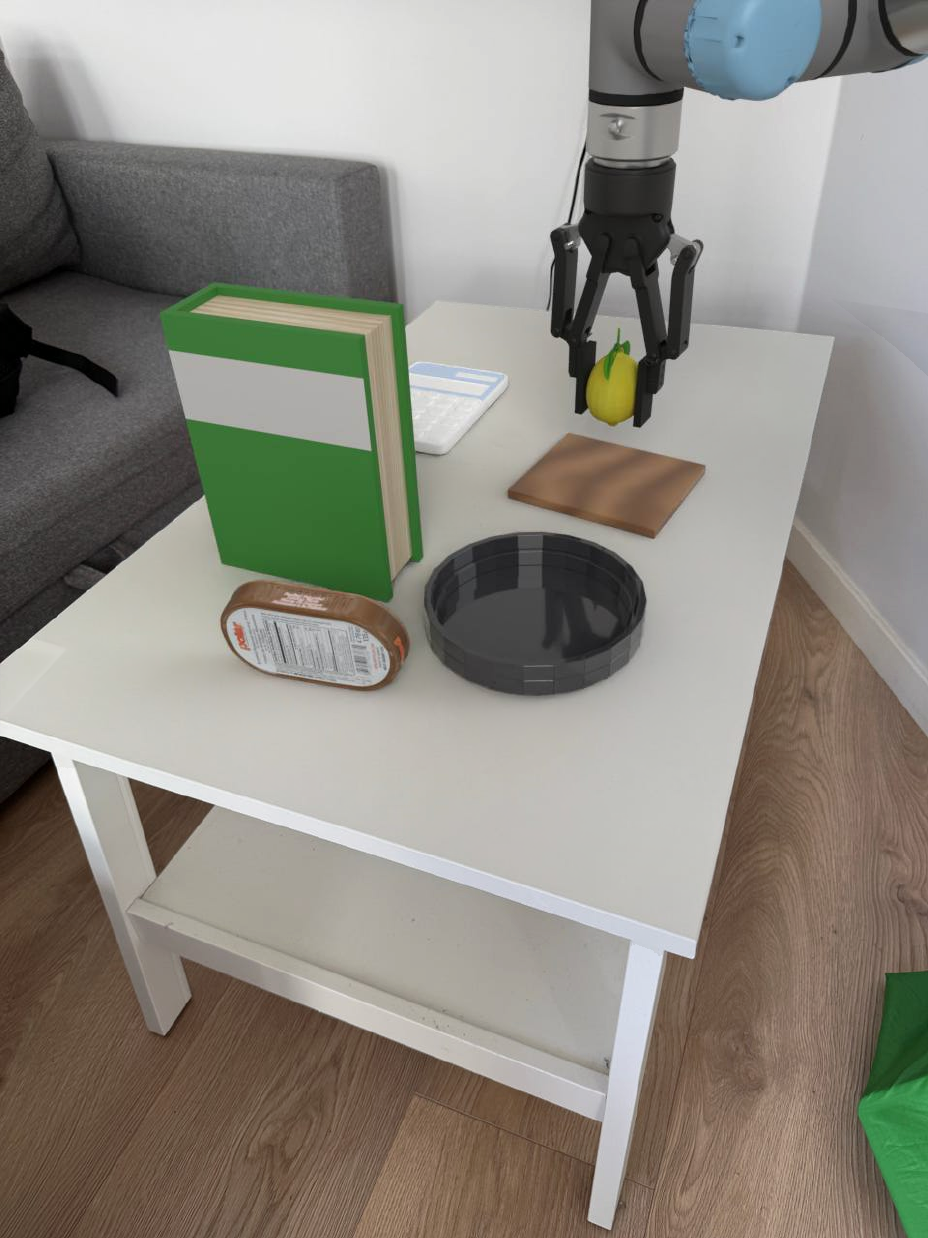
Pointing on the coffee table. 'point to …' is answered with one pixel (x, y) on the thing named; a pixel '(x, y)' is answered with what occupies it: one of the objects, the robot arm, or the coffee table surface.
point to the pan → (534, 612)
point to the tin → (315, 635)
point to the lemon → (613, 385)
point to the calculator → (449, 402)
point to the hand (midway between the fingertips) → (612, 414)
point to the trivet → (609, 484)
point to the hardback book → (301, 432)
